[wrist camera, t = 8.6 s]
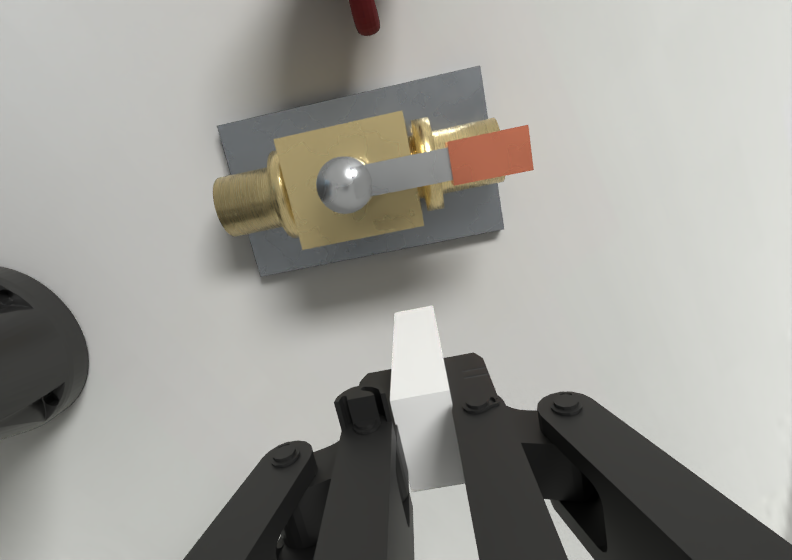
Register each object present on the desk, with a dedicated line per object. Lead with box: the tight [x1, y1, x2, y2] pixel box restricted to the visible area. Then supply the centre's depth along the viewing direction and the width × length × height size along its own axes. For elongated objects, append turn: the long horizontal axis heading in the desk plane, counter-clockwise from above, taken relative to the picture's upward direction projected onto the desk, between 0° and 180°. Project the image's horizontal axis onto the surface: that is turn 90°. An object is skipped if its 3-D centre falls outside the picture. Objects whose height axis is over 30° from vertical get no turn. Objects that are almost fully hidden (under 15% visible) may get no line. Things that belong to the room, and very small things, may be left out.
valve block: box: [213, 66, 505, 276], centre depth 32 cm, size 20×12×8 cm, turn 102°
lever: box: [316, 125, 534, 214], centre depth 27 cm, size 12×3×3 cm, turn 101°
